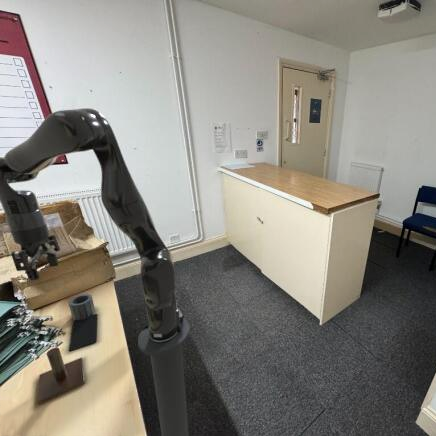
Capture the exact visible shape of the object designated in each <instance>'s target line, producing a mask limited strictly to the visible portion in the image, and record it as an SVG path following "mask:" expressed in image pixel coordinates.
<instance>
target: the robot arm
mask: <svg viewBox="0 0 436 436" xmlns="http://www.w3.org/2000/svg"><path fill="white" fill-rule="evenodd" d="M89 151H93V153H94V155H95V157H96V159H97V161H98V164H99V167H100V172H101V182H100V199H101V203H102V205H103V207H104V209H105V211H106V212H107V214H108V215H109V218H110V219H111V221H112V222H113V223H114V225H115V226H116V227H117V228H118V229H119V230H120V231H121V232H122V233H123V234H125V236H126V237H128V238H129V239H130V240H131V242H132V243H133V245H134V247H135V249H136V251H137V253H138V256H139V258H140V272H139V273H140V280H141V281H140V282H141V286H142V293H143V295H144V302H145V308H146V309H145V310H146V315H147V317H146V318H147V324H148V325H149V333H150V339H151V340H152V341H153V342H155V343H164V342H167V341H169V340H171V339H173V338H174V337H175V336H176V335H177V334H178V333H179V332H181V330H180V323H182V322H184V320H183V318H184V319H185V314H183V313H182V311H181V310H180V308H179V307H178V305H177V292H176V290H177V289H176V287H177V286H176V273H175V264H174V258H173V255H172V253H171V251H170V250H169V248H168V247H167V246H166V244H165V242H164V241H163V240H162V238H161V236H160V235H159V233H158V231H157V229H156V225H155V223H154V220H153V218H152V215H151V213H150V210H149V208H148V207H147V204H146V201H145V200H144V198H143V197H142V194H141V192H140V190H139V189H138V187H137V184H136V182H135V181H134V178H133V177H132V174H131V172H130V170H129V168H128V166H127V164H126V161H125V159H124V156H123V153H122V150H121V148H120V145H119V143H118V139H117V137H116V135H115V133H114V130H113V128H112V126H111V124H110V122H109V121H108V120H107V118H106V117H105V116H104V115H103V114H102V113H100V111H99V110H96V109H94V108H89V107H88V108H87V107H86V108H71V109H62V110H61V109H60V110H56V111H54V112H52V113H50V114H49V115H48V116H47V117H46V118H45V119H44V120H43V121H42V122H41V123H40V125H39V126H38V127H37V129H35V131H34V132H33V133H32V134H31V135H30V137H28V138H27V139H26V140H25V141H23V142H22V143H20V144H18V145H16V146H14V147H12V148H11V149H10V150H9V151H7V152H6V153H5V155H4V157H0V204H1V208H2V209H3V212H4V215H5V220H6V224H7V226H8V229H9V232H10V234H11V236H12V239H13V241H14V243H15V244H17V245H19V246H20V250H18V251H12V252H10V253H11V254H10V255H11V258H12V261H13V264H14V267H15V270H16V271H17V272H22V271H25V274H26V276H27V278H28V280H30V281H36V280H39V279H40V274H39V271H38V269H37V267H36V266H37V263H38V262H39V261H40V258H41V257H42V256H43V255H45V256H46V260H47V263H48V266H49V267H57V266H58V265H59V261H58V257H57V254H58V252H60V251H61V248H60V245H59V242H58V240H57V237H56V235H55V234H51V233H50V230H49V228H48V224H47V222H46V219H45V216H44V213H43V212H42V210H41V207H40V204H39V201H38V198H37V195H36V194H35V193H34V192H33V191H32V190H27V189H20V190H19V189H14V188H13V187H12V186H11V185H10V184H17V183H26V182H30V181H33V180H35V179H36V178H37V177H38V175H39V174H40V172H41V171H43V170H46V169H47V168H49V167H50V166H52V165H53V164H55V162H56V161H57V158H59V157H61V156H64V155H69V154H74V153H75V154H76V153H83V152H89ZM53 246H54V247H53Z"/></svg>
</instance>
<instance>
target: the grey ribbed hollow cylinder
mask: <svg viewBox="0 0 436 436" xmlns="http://www.w3.org/2000/svg"><path fill="white" fill-rule="evenodd" d="M68 306H69V307H68V308H69V310H70V314H71V318H72V320H73V321H74V320H83V319H86V318H87V317H90V316H91V315H94V314H96V307H95V304H94V300H93V296H92V294H90V293H83V294H77V295H76V296H74V297H71V299H69V300H68Z"/></svg>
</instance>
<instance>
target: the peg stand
mask: <svg viewBox="0 0 436 436" xmlns="http://www.w3.org/2000/svg"><path fill="white" fill-rule="evenodd" d="M61 353H62V352H61V350H60V348H59V347H53V348H51V349H49V350H48V351H47V352H46V357H47V359H48V362H49V366H50V370H48V371H45V372H42V373H41V374H39V379H38V387H37V388H38V391H37V404H38V405H41V404H43V403H45V402H47V401H50V400H52V399H53V398H56V397H58V396H60V395H62V394H65V393H66V392H68V391H70V390H73V389H75V388H77V387H79V386H81V385H84V384H85V373H84V360H83V357H79V358H77V359H74V360H72V361H69V362H67V363H65V362H64V360H63V359H64V358H63V356H62V354H61Z"/></svg>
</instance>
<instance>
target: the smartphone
mask: <svg viewBox="0 0 436 436" xmlns="http://www.w3.org/2000/svg"><path fill="white" fill-rule="evenodd" d="M97 342H98V313H94V315H91V316H90V317H87V318H86V319H83V320H73V321H72V326H71V334H70V339H69V346H68V352H74V351H77V350H80V349H82V348H86V347H88V346H91V345H94V344H96V343H97Z"/></svg>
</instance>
